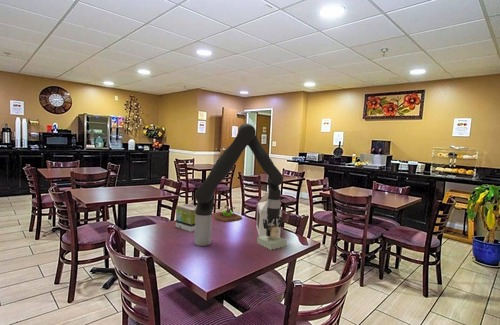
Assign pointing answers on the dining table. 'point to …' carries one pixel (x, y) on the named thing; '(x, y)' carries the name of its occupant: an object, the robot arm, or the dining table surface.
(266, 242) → the sage plinth
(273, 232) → the maple block
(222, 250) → the dining table surface
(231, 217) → the plant
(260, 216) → the gable box
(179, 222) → the tea box
